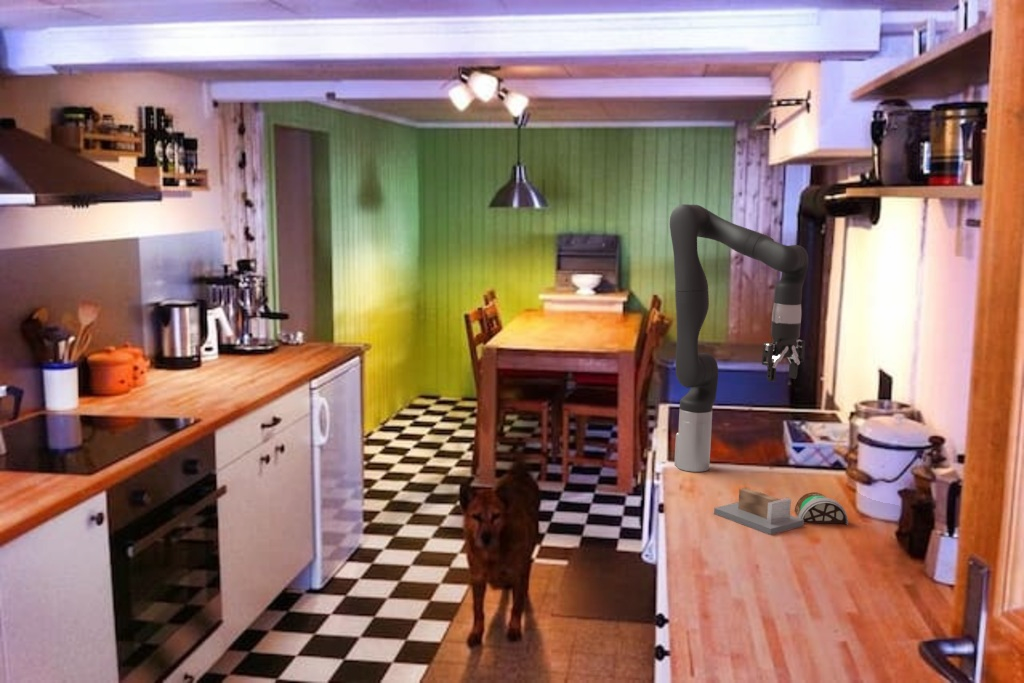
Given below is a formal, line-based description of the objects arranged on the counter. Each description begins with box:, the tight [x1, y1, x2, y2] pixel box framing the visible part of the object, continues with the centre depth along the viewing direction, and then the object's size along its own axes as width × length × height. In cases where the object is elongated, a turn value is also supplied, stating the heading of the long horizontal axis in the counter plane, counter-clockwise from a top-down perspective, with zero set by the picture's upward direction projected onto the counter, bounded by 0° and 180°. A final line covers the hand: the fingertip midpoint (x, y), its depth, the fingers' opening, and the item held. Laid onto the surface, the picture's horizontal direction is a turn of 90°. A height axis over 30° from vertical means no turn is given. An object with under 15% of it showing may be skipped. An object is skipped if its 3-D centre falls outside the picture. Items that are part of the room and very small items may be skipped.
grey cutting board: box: [713, 501, 805, 536], centre depth 253 cm, size 18×12×2 cm, turn 36°
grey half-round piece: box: [794, 491, 849, 526], centre depth 255 cm, size 12×6×10 cm
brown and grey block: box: [738, 487, 792, 524], centre depth 252 cm, size 12×7×5 cm, turn 36°
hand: (781, 379), depth 278 cm, fingers open, 8 cm apart
